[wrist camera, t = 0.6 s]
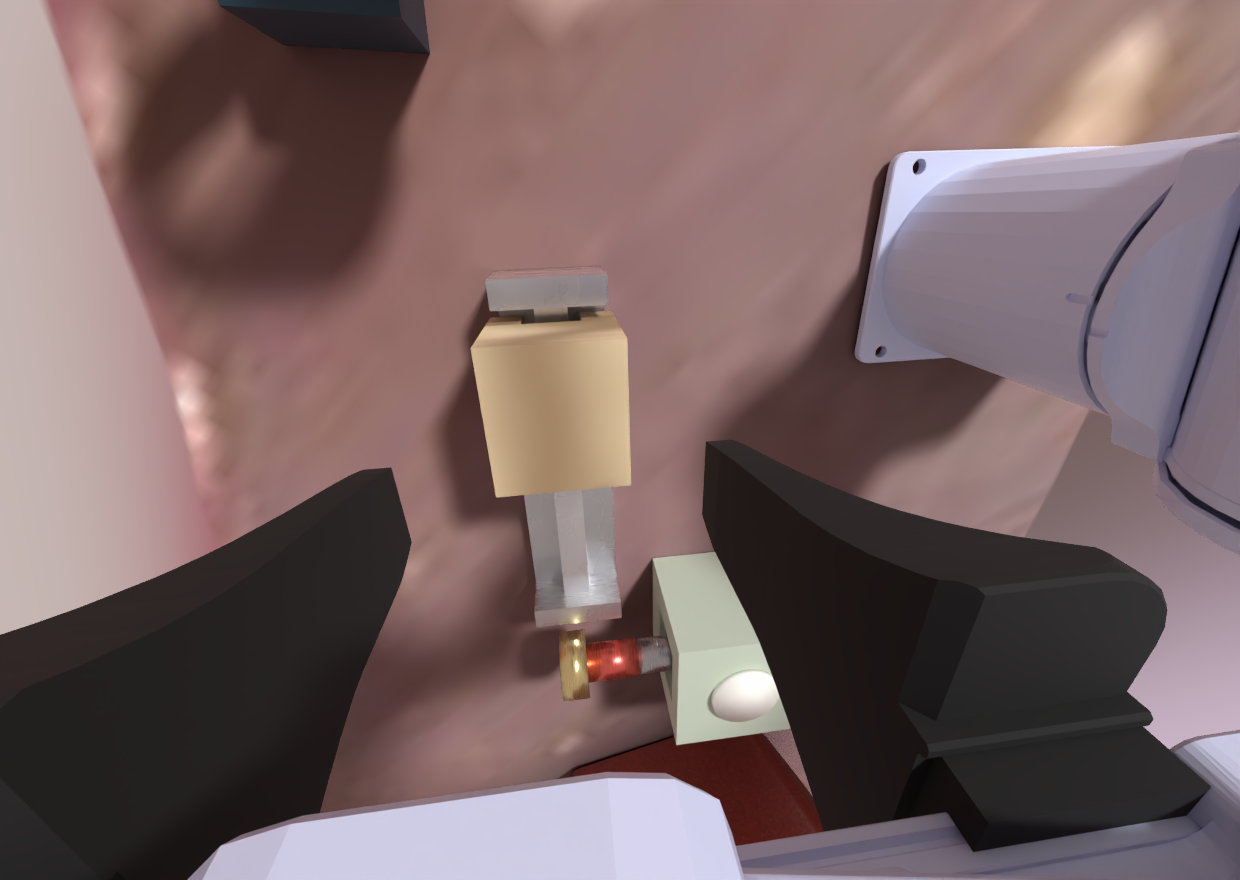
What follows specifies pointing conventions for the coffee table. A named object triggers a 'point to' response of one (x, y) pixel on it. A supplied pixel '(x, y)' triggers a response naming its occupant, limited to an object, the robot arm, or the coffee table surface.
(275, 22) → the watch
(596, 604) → the rail
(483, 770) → the coffee table surface
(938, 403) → the coffee table surface
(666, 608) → the cabinet
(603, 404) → the carriage
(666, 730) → the coffee table surface
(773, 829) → the plant pot
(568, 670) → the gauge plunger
